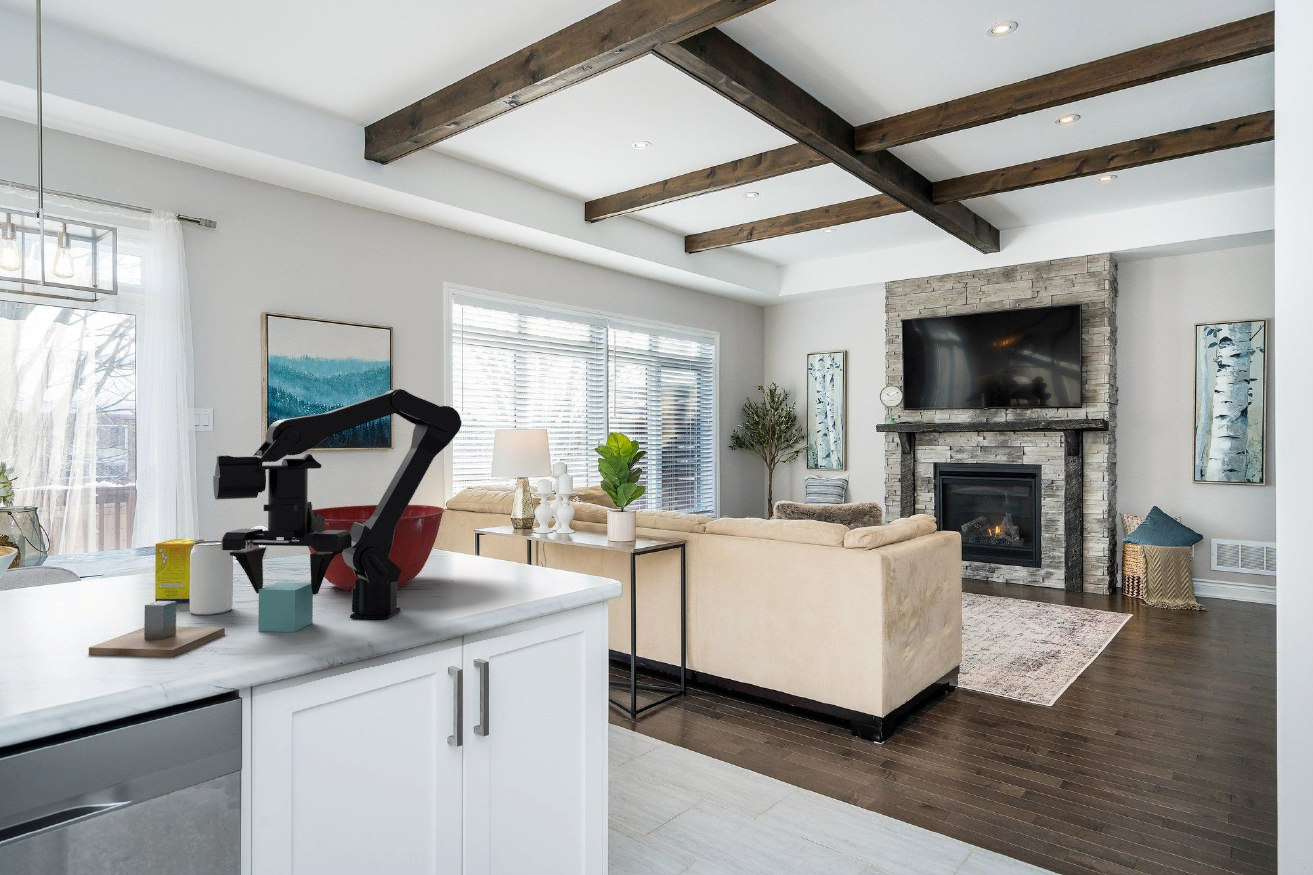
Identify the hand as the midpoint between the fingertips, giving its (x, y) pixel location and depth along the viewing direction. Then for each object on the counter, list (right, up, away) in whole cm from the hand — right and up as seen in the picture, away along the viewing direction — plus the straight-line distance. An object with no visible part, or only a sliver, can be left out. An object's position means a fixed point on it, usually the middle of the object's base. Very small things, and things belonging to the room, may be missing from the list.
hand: (287, 593), depth 122 cm
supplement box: (-29, -5, +18) cm, 34 cm away
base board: (-14, -5, -11) cm, 18 cm away
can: (-18, -5, +10) cm, 21 cm away
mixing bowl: (+1, -5, +34) cm, 34 cm away
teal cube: (0, -5, 0) cm, 5 cm away
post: (-14, -5, -11) cm, 18 cm away
